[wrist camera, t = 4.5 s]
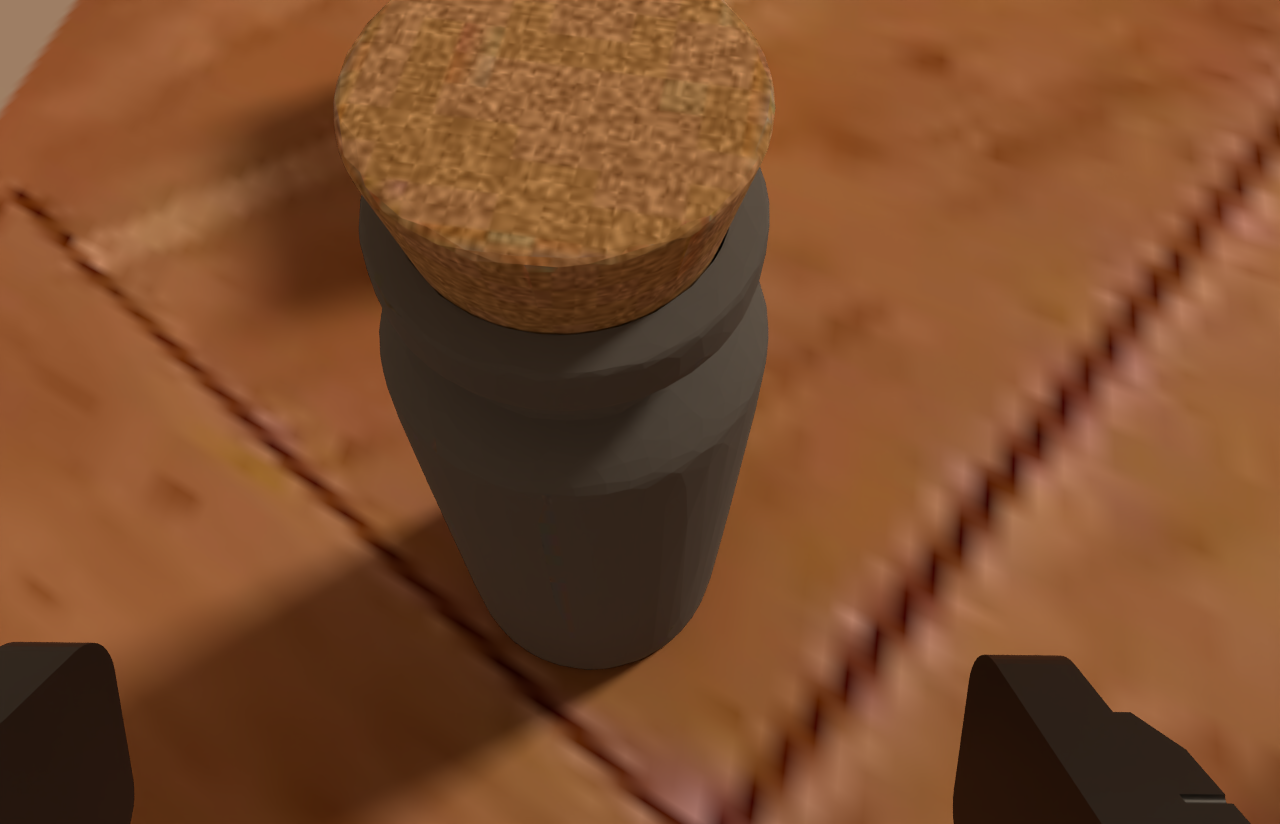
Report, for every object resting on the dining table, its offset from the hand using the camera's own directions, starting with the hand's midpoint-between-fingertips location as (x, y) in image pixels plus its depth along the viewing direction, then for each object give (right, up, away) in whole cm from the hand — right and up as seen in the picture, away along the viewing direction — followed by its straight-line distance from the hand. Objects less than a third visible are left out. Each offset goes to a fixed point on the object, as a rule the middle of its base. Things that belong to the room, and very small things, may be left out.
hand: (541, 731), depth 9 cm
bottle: (0, -1, +15) cm, 15 cm away
